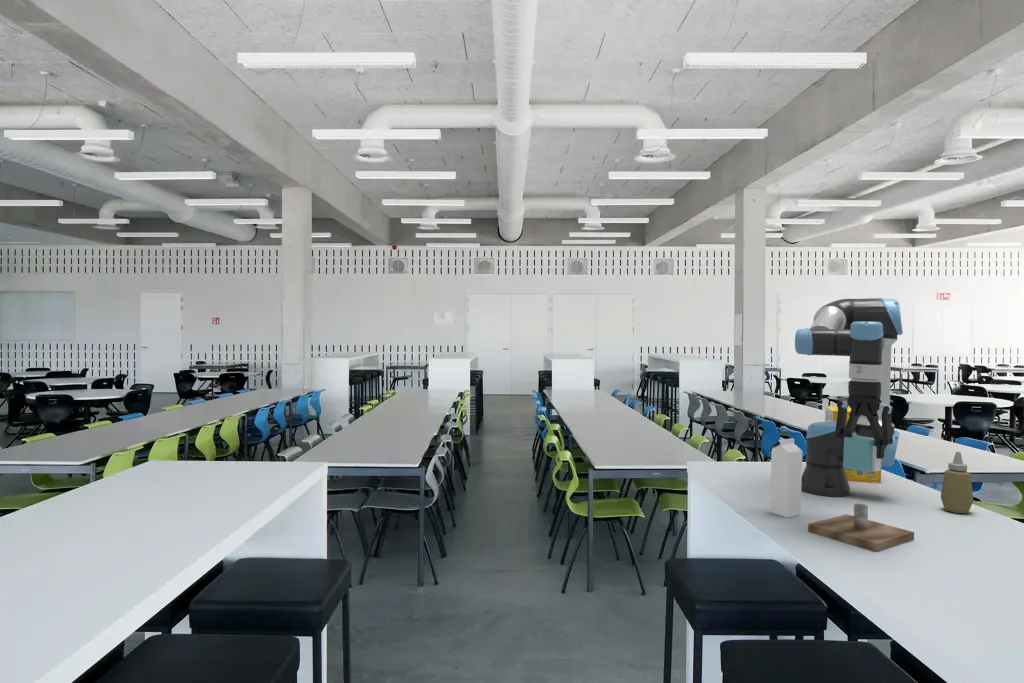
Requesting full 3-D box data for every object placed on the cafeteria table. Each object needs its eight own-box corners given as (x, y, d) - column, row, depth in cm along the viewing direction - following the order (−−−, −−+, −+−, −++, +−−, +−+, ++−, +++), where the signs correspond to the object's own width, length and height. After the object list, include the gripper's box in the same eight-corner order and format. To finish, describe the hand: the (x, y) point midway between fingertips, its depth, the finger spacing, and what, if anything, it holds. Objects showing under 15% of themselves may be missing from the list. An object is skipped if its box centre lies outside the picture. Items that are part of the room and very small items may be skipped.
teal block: (843, 467, 168) (844, 437, 167) (856, 465, 171) (857, 435, 171) (867, 472, 162) (868, 441, 162) (881, 469, 166) (882, 439, 165)
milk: (769, 512, 187) (771, 438, 186) (783, 510, 190) (784, 436, 189) (787, 518, 181) (788, 441, 181) (801, 515, 184) (802, 439, 184)
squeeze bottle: (978, 516, 187) (980, 455, 186) (947, 514, 188) (949, 453, 188) (964, 508, 195) (966, 450, 194) (935, 506, 196) (937, 448, 196)
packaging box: (823, 469, 246) (825, 405, 246) (870, 473, 241) (872, 408, 241) (830, 479, 231) (832, 410, 230) (880, 483, 226) (882, 413, 225)
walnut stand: (808, 531, 170) (808, 501, 170) (845, 521, 179) (846, 493, 179) (876, 551, 155) (877, 519, 154) (913, 539, 164) (914, 509, 164)
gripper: (821, 377, 172) (818, 462, 173) (896, 383, 156) (893, 477, 156) (837, 377, 176) (834, 459, 177) (911, 383, 160) (908, 474, 160)
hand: (862, 467), depth 167 cm, fingers closed on teal block, 6 cm apart
